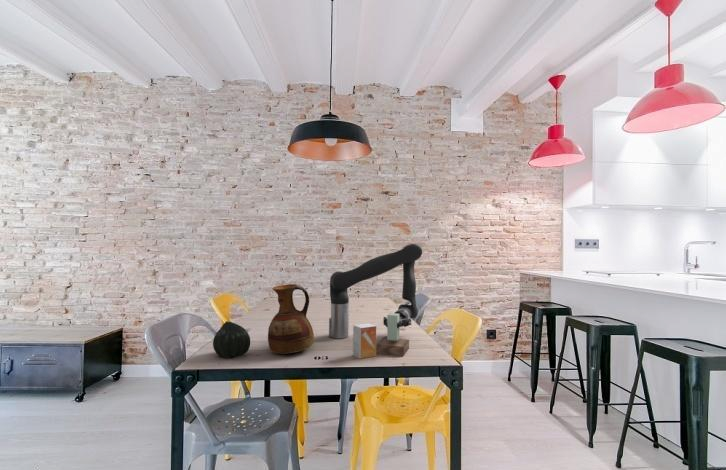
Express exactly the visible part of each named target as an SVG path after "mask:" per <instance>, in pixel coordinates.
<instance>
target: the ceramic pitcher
mask: <svg viewBox="0 0 726 470" xmlns="http://www.w3.org/2000/svg"><path fill="white" fill-rule="evenodd" d="M272 290H273V291H274V292H275V293H276V294H277V302H278V304H279V308H278V312H277V313H276V314H275V315H274V316H273V318H272V319H271V321H270V323H269V327H268V332H267V342H268V348H269V350H270V351H271V352H273V353H276V354H281V355H282V354H283V355H287V354H294V353H298V352H302V351H304V350H306V349H308V348H310V347H312V346H313V345H314V342H315V333H314V330H313V326H312V324H311V323H310V321H309V319H308V317H307V313H308V309H309V305H310V296H309V293H308V291H307V290H306V289H305V287H303V286H301V285H300V284H296V283H290V284H288V283H287V284H282V285H277V286H273V287H272ZM295 290H300V291H302V293H303V294H304V297H305V302H304V306H303V308H302V309H301V310H298V309H297V308H296V306H295V304H294V299H293V298H294V297H293V296H294V292H295Z"/></svg>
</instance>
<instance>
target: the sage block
mask: <svg viewBox="0 0 726 470" xmlns="http://www.w3.org/2000/svg"><path fill="white" fill-rule="evenodd" d="M386 318H387V323H388V327H386V333H387V334H386V338H387V340H396V341H397V340H398V339H400V327H399V328H397V323H398V322H399V314H396V313H395V312H392V313H391V312H390V313H388V314H387V316H386Z"/></svg>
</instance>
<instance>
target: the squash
mask: <svg viewBox="0 0 726 470" xmlns="http://www.w3.org/2000/svg"><path fill="white" fill-rule="evenodd" d="M212 347H213V351H214V352H215V353H216V355H217V356H218V357H221V358H225V359H229V358H231V357H232V356H233V357H235V356H238V355H239V356H242V355H244V354H246V353H247V352H248V351H249V350H250V347H251V337H250V334H249V332H248V331H247V330H246V329H245V328H244V327H243V326H241V325H239V324H237V323H235V322H232V321H228V320H227V321H225V322H224V323H223V324H222V325H221V327H220V328H219V330H217V332H216V333H215V335H214V337H213V340H212Z"/></svg>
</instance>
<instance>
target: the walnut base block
mask: <svg viewBox="0 0 726 470" xmlns="http://www.w3.org/2000/svg"><path fill="white" fill-rule="evenodd" d="M409 349H410V339H405V338H399V339H398V340H397V341H396V340H387V336H386V337H382V339H380V340H379V341H378V342H376V354H380V355H381V354H382V355H392V356H399V357H404V356H405V355H406V353H407V352H408V350H409Z"/></svg>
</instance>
